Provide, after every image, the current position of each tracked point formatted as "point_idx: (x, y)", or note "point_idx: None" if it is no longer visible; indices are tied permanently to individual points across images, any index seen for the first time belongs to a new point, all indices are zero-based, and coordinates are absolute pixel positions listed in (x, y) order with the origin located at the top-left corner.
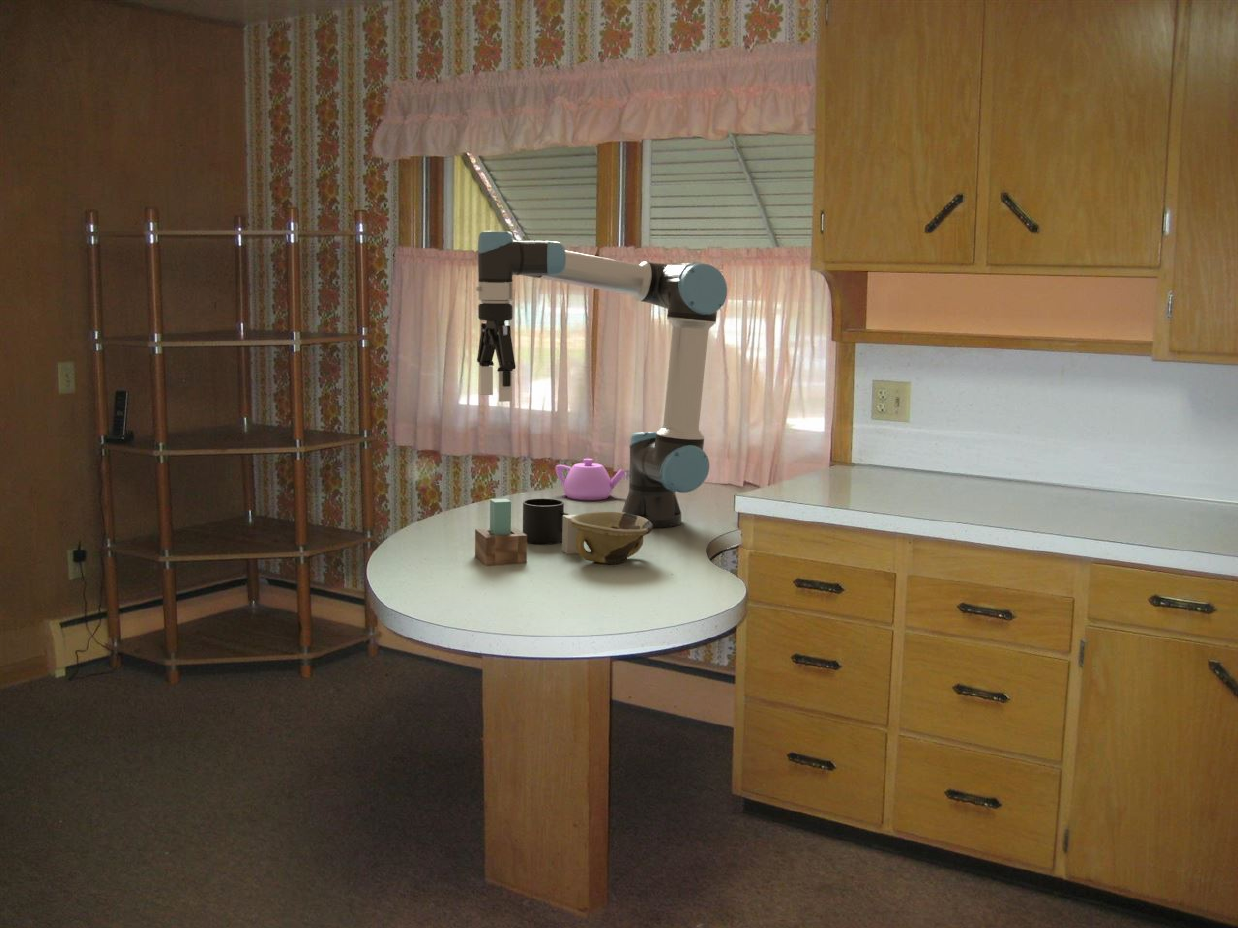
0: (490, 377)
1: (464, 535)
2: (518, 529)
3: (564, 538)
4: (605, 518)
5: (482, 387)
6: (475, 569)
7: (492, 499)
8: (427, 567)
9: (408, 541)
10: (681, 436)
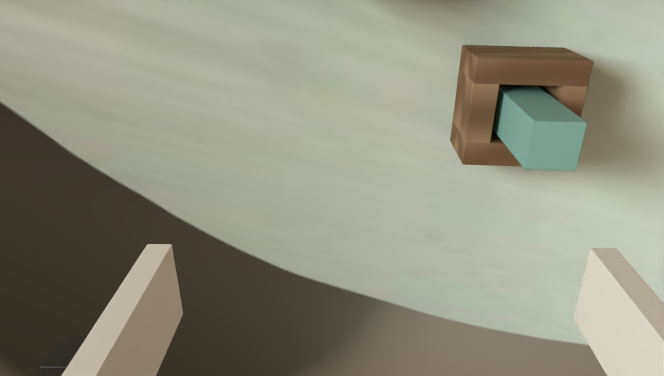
0: (122, 350)
1: (233, 103)
2: (514, 59)
3: None
4: None
5: (163, 345)
6: (564, 172)
7: (530, 164)
8: (504, 250)
9: (267, 231)
10: None
